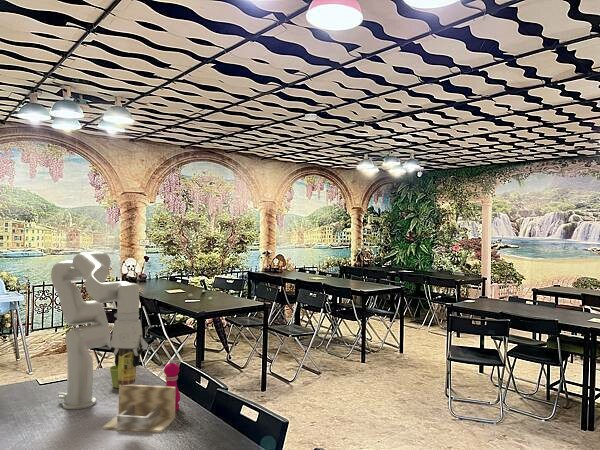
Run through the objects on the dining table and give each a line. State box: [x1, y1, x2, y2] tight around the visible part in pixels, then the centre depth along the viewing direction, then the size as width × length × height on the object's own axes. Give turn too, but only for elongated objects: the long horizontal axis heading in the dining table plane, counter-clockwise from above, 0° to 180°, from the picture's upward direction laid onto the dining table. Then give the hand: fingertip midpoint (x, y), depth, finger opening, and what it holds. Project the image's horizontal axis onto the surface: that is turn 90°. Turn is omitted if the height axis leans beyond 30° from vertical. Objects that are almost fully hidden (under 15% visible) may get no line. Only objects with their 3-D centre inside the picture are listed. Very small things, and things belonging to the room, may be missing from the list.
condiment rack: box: [102, 384, 176, 434], centre depth 173 cm, size 22×13×12 cm, turn 84°
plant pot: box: [108, 364, 119, 389], centre depth 215 cm, size 9×9×9 cm
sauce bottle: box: [118, 349, 137, 385], centre depth 172 cm, size 6×6×20 cm
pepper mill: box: [163, 359, 181, 412], centre depth 188 cm, size 7×7×20 cm
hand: (127, 365), depth 172 cm, fingers closed on sauce bottle, 6 cm apart
